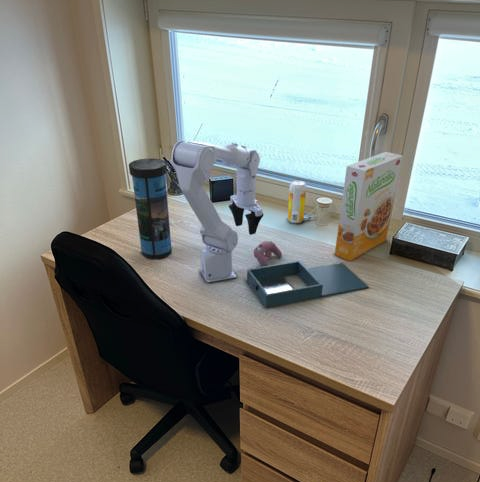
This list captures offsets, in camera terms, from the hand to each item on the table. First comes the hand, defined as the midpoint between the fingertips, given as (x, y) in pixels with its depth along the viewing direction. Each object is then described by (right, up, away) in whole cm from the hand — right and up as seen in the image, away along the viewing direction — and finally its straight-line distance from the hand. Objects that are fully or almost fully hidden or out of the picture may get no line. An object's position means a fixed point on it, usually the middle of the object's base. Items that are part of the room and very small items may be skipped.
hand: (245, 229), depth 149 cm
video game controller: (+7, -10, +4) cm, 13 cm away
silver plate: (+9, -20, -12) cm, 25 cm away
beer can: (+20, +8, +31) cm, 37 cm away
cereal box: (+40, -4, +12) cm, 42 cm away
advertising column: (-30, -7, +8) cm, 32 cm away
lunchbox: (+18, -18, -9) cm, 27 cm away
